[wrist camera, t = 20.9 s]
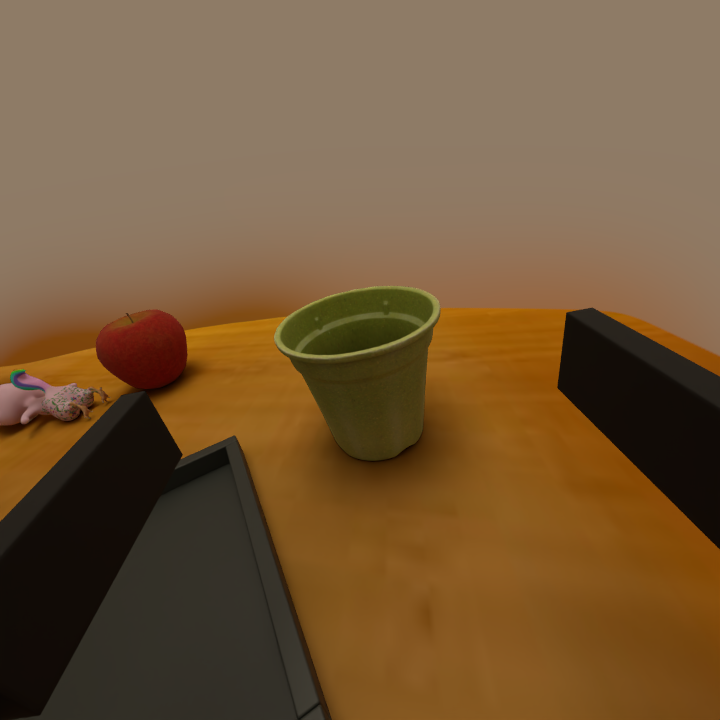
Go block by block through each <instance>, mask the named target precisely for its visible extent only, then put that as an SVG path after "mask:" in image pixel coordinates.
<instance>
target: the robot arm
mask: <svg viewBox="0 0 720 720" xmlns="http://www.w3.org/2000/svg"><path fill="white" fill-rule="evenodd" d="M557 388H558V389H559V390H560V391H561V392H562V393H563V394H564V395H565V396H566V397H567V398H568V399H569V400H570V401H571V402H572V403H573V404H574V405H575V406H576V407H577V408H578V409H579V410H580V411H581V412H582V413H583V414H584V415H585V416H586V417H587V418H588V419H589V420H590V421H591V422H592V423H593V424H594V425H595V426H596V427H597V428H598V429H599V430H600V431H601V432H602V433H603V434H604V435H605V436H606V437H607V438H608V439H609V440H610V441H611V442H612V443H613V444H614V445H615V446H616V447H617V448H618V449H619V450H620V451H621V452H622V453H623V454H624V455H625V456H626V457H627V458H628V459H629V460H630V461H631V462H632V463H633V464H634V465H635V466H636V467H637V468H638V469H639V470H640V471H641V472H642V473H643V474H644V475H645V476H646V477H647V478H648V479H649V480H650V481H651V482H652V483H653V484H654V485H655V486H656V487H658V488H659V489H660V490H661V491H662V492H663V493H664V494H665V495H666V496H667V497H668V498H669V499H670V500H671V501H672V502H673V503H674V504H675V505H676V506H677V507H678V508H679V509H680V510H681V511H682V512H683V513H684V514H685V515H686V516H687V517H688V518H689V519H690V520H691V521H692V522H693V523H694V524H695V525H696V526H697V527H698V528H699V529H700V530H701V531H702V532H703V533H704V534H705V535H706V536H707V537H708V538H709V539H710V540H711V541H712V542H713V543H714V544H715V545H716V546H717V547H718V548H719V549H720V377H719V376H718V375H716V374H714V373H712V372H710V371H708V370H707V369H705V368H703V367H701V366H699V365H697V364H695V363H694V362H692V361H690V360H688V359H686V358H684V357H683V356H681V355H679V354H677V353H675V352H673V351H671V350H670V349H668V348H666V347H664V346H662V345H660V344H659V343H657V342H655V341H653V340H651V339H649V338H647V337H646V336H644V335H642V334H640V333H638V332H636V331H635V330H633V329H631V328H629V327H627V326H625V325H623V324H622V323H620V322H618V321H616V320H614V319H612V318H611V317H609V316H607V315H605V314H603V313H601V312H599V311H598V310H596V309H594V308H588V309H583V310H577V311H572V312H567V313H566V321H565V329H564V338H563V346H562V354H561V362H560V371H559V379H558V387H557ZM182 455H183V454H182V453H181V451H180V449H179V448H178V446H177V444H176V443H175V441H174V439H173V437H172V436H171V434H170V432H169V431H168V429H167V427H166V425H165V424H164V422H163V420H162V419H161V417H160V415H159V414H158V412H157V410H156V408H155V407H154V405H153V403H152V402H151V400H150V398H149V396H148V395H147V393H146V391H142V392H137V393H131V394H126V395H122V396H121V397H120V398H119V399H118V400H117V401H116V402H115V403H114V404H113V405H112V406H111V407H110V408H109V409H108V410H107V411H106V412H105V413H104V414H103V415H102V416H101V417H100V419H99V420H98V421H97V422H96V423H95V424H94V425H93V426H92V427H91V428H90V429H89V430H88V431H87V432H86V433H85V434H84V435H83V436H82V437H81V438H80V439H79V440H78V441H77V442H76V444H75V445H74V446H73V447H72V448H71V449H70V450H69V451H68V452H67V453H66V454H65V455H64V456H63V457H62V458H61V459H60V460H59V461H58V462H57V463H56V464H55V465H54V466H53V467H52V469H51V470H50V471H49V472H48V473H47V474H46V475H45V476H44V477H43V478H42V479H41V480H40V481H39V482H38V483H37V484H36V485H35V486H34V487H33V488H32V489H31V490H30V491H29V492H28V494H27V495H26V496H25V497H24V498H23V499H22V500H21V501H20V502H19V503H18V504H17V505H16V506H15V507H14V508H13V509H12V510H11V511H10V512H9V513H8V514H7V515H6V516H5V517H4V519H3V520H2V521H1V522H0V720H13V719H20V718H27V717H33V716H40V715H41V713H42V711H43V710H44V708H45V706H46V704H47V702H48V700H49V699H50V697H51V695H52V693H53V691H54V689H55V688H56V686H57V684H58V682H59V680H60V678H61V677H62V675H63V673H64V671H65V669H66V667H67V666H68V664H69V662H70V660H71V658H72V657H73V655H74V653H75V651H76V649H77V647H78V646H79V644H80V642H81V640H82V638H83V636H84V635H85V633H86V631H87V629H88V627H89V625H90V624H91V622H92V620H93V618H94V616H95V614H96V613H97V611H98V609H99V607H100V605H101V603H102V602H103V600H104V598H105V596H106V594H107V592H108V591H109V589H110V587H111V585H112V583H113V581H114V580H115V578H116V576H117V574H118V572H119V570H120V569H121V567H122V565H123V563H124V561H125V559H126V558H127V556H128V554H129V552H130V550H131V548H132V547H133V545H134V543H135V541H136V539H137V537H138V536H139V534H140V532H141V530H142V528H143V526H144V525H145V523H146V521H147V519H148V517H149V515H150V514H151V512H152V510H153V508H154V506H155V505H156V503H157V501H158V499H159V497H160V495H161V494H162V492H163V490H164V488H165V486H166V484H167V483H168V481H169V479H170V477H171V475H172V473H173V472H174V470H175V468H176V466H177V464H178V462H179V461H180V459H181V457H182Z"/></svg>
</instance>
